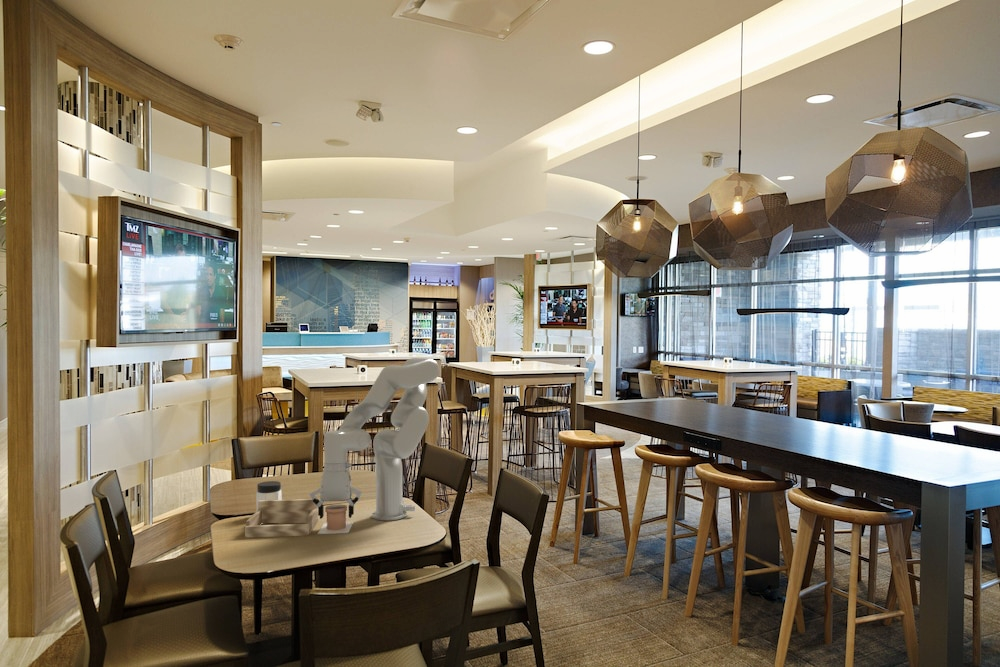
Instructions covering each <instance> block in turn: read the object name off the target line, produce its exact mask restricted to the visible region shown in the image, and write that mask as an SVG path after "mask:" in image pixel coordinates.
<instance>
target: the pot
mask: <svg viewBox="0 0 1000 667" xmlns="http://www.w3.org/2000/svg"><path fill="white" fill-rule="evenodd" d="M324 509H325V512H324V513H326V523H327V529H328V530H341V529H344V528H346V522H347V511H348V506H347V505H346V504H343V503H342V504H341V503H335V504H329V505H326V506H324Z"/></svg>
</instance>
